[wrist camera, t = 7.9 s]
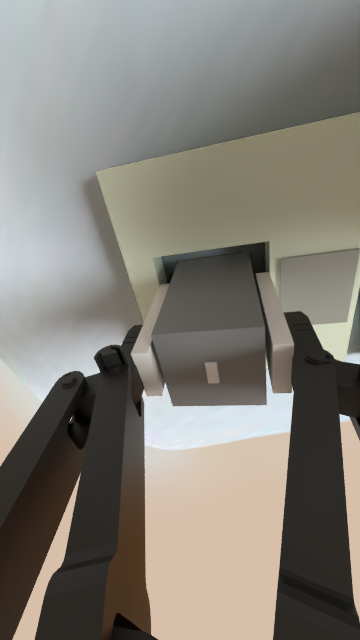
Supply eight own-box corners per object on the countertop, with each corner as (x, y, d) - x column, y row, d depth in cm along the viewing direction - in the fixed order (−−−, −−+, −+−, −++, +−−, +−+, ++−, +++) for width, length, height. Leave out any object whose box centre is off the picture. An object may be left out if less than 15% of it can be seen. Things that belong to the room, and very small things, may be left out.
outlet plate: (109, 167, 15) (93, 172, 13) (372, 108, 12) (397, 104, 10) (164, 356, 22) (159, 375, 21) (334, 346, 20) (345, 367, 18)
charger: (178, 261, 17) (150, 336, 11) (248, 251, 16) (265, 328, 10) (189, 317, 20) (172, 407, 13) (251, 312, 19) (266, 406, 12)
